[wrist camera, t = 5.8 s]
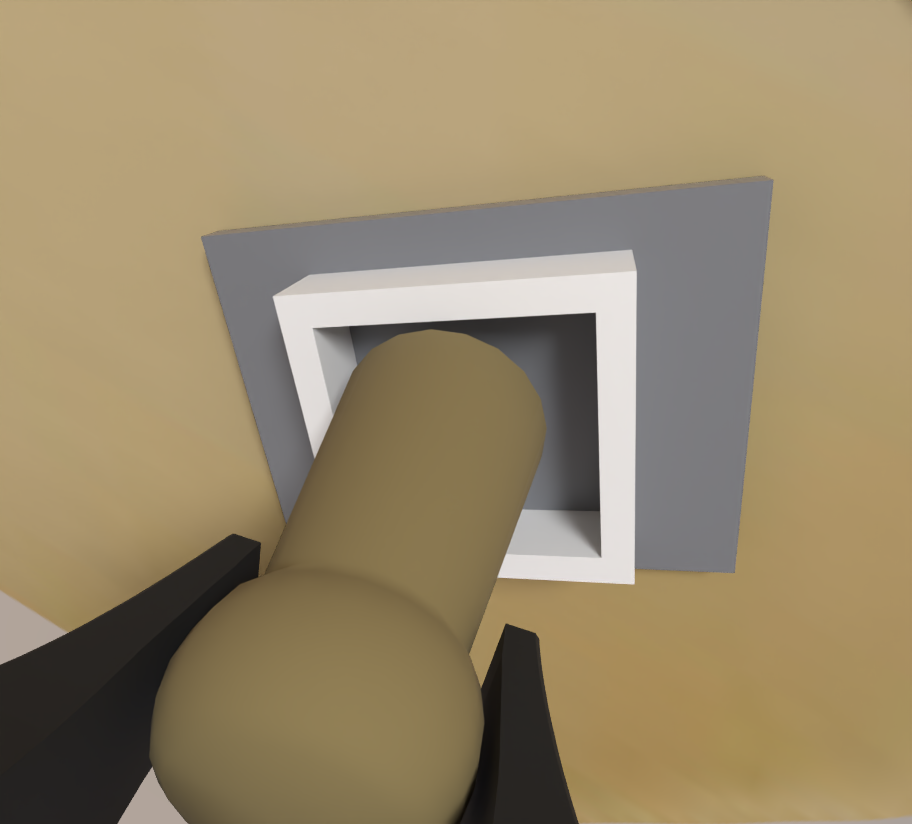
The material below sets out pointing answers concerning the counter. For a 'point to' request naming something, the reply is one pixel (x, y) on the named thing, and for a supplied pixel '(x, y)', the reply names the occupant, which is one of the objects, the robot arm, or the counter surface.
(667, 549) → the socket dock
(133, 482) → the counter surface
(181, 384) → the counter surface
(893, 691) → the counter surface
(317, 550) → the cork
